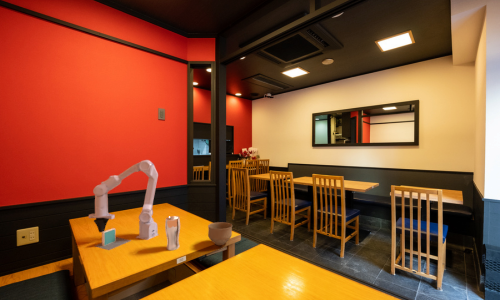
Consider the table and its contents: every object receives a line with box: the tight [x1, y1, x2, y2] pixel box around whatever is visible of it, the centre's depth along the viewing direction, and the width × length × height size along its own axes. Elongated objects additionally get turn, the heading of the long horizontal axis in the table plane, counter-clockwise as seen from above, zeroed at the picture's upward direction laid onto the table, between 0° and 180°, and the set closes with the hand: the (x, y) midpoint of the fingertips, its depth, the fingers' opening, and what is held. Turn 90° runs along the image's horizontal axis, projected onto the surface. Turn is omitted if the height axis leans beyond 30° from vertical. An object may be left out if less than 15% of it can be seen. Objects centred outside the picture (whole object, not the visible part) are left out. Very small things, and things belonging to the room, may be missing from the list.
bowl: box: [207, 221, 233, 246], centre depth 110 cm, size 13×13×10 cm
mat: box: [94, 236, 132, 251], centre depth 112 cm, size 12×12×1 cm
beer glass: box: [164, 215, 181, 251], centre depth 107 cm, size 7×7×15 cm
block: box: [101, 227, 116, 246], centre depth 112 cm, size 2×6×7 cm, turn 156°
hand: (101, 231), depth 114 cm, fingers closed
